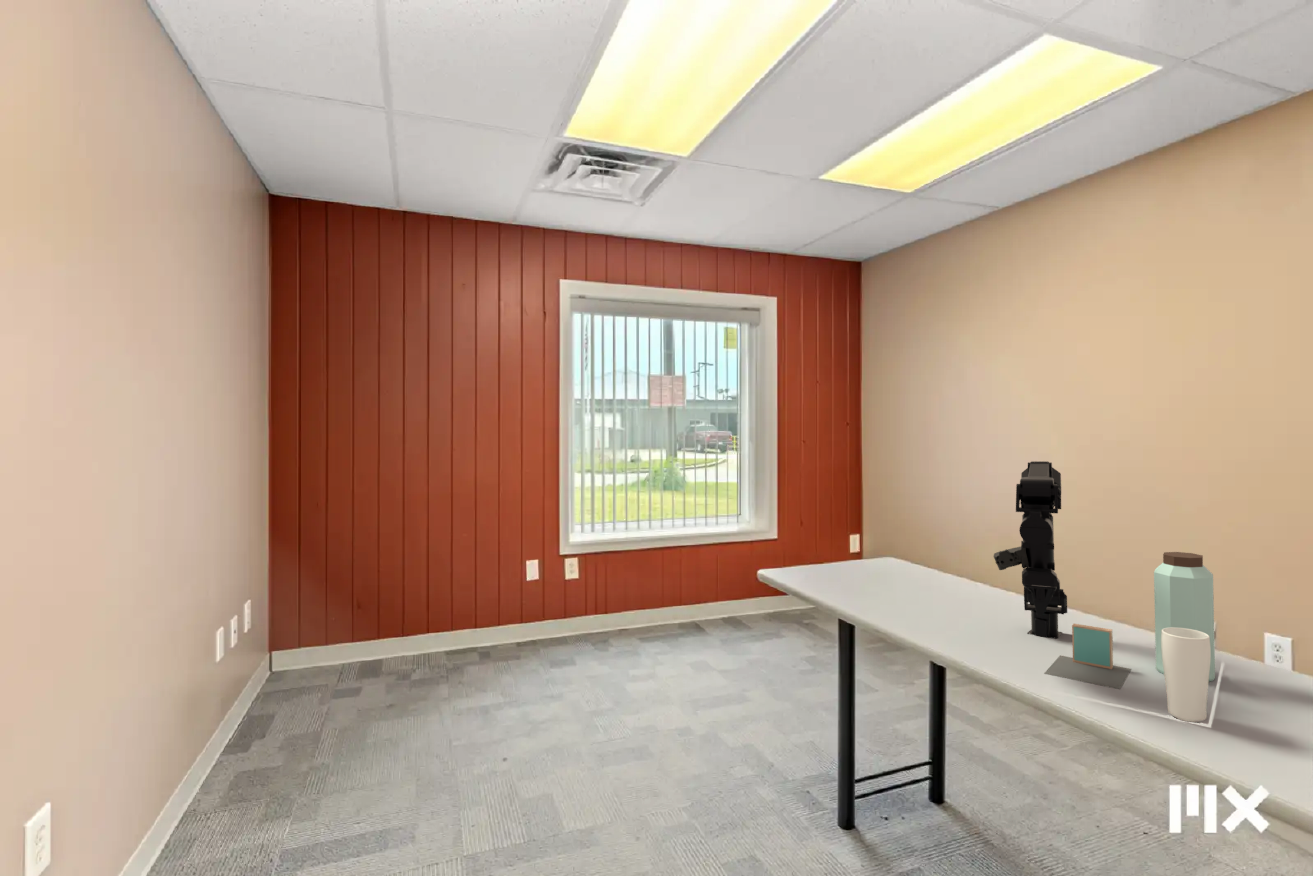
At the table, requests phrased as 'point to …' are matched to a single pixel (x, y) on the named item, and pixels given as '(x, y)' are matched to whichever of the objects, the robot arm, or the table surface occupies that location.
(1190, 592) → the water bottle
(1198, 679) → the drinking glass
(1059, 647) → the table surface
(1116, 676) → the mat
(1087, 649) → the tile
